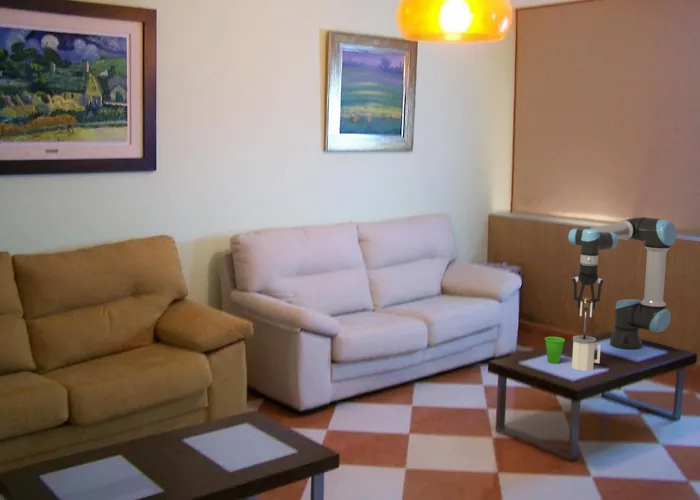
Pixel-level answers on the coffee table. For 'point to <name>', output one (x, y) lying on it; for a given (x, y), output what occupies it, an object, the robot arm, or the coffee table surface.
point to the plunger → (585, 304)
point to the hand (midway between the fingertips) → (585, 315)
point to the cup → (554, 349)
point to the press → (584, 353)
